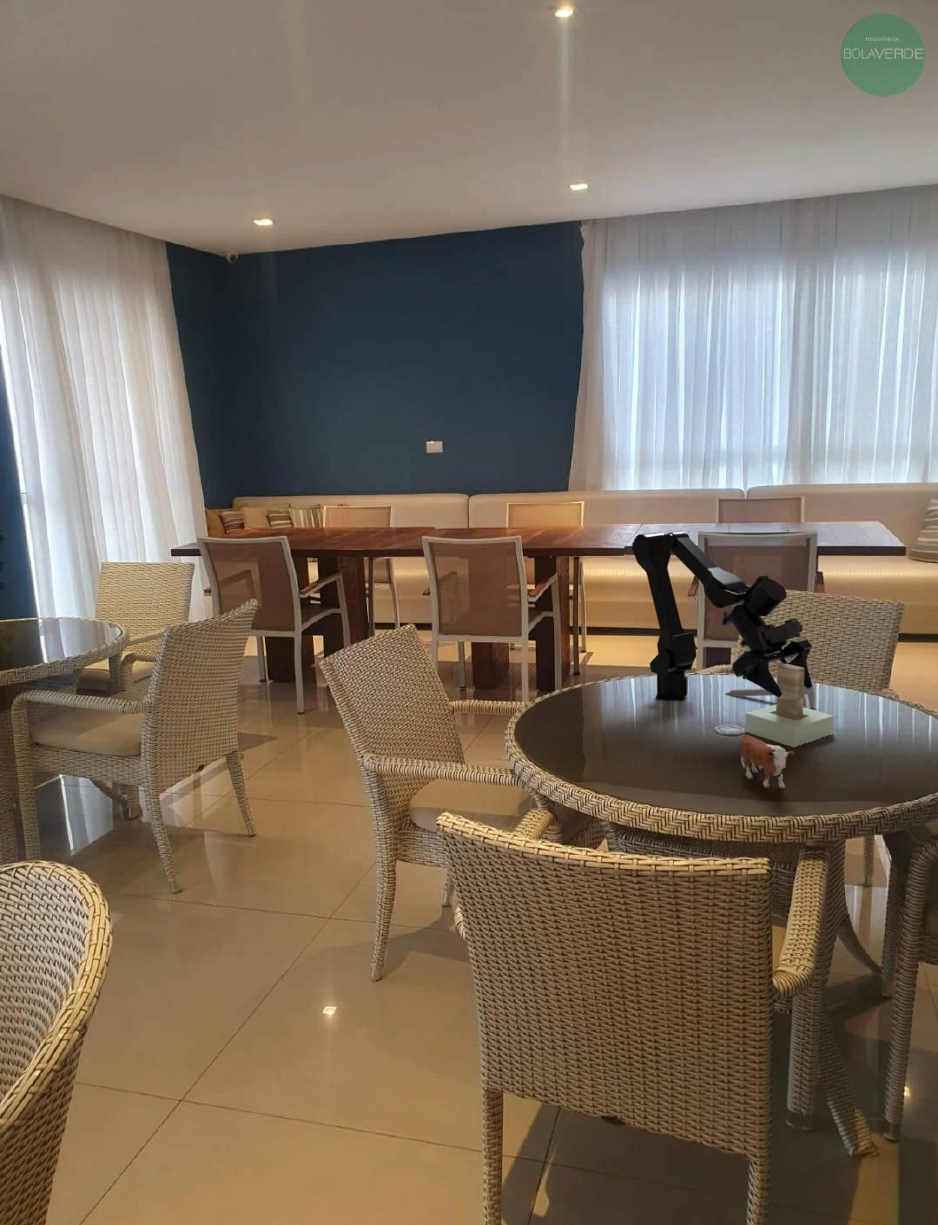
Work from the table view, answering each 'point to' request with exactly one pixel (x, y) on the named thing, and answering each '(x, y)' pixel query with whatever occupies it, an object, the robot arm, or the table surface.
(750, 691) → the caliper
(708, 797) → the table surface
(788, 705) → the slat
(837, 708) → the table surface
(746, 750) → the bull figurine
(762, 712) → the end cap
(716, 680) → the table surface
